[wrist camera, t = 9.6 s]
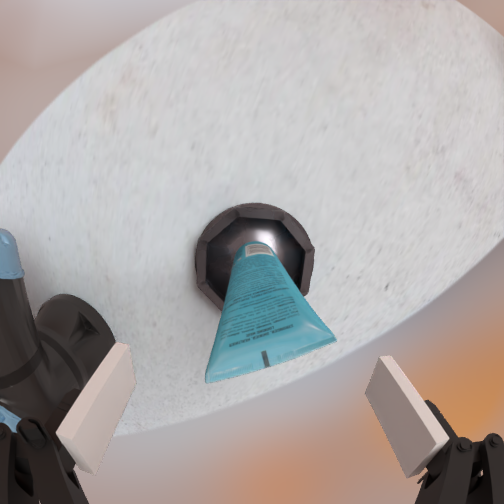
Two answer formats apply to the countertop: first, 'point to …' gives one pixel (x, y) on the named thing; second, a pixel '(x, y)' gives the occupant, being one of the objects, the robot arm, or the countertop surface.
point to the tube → (262, 318)
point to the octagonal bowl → (247, 230)
